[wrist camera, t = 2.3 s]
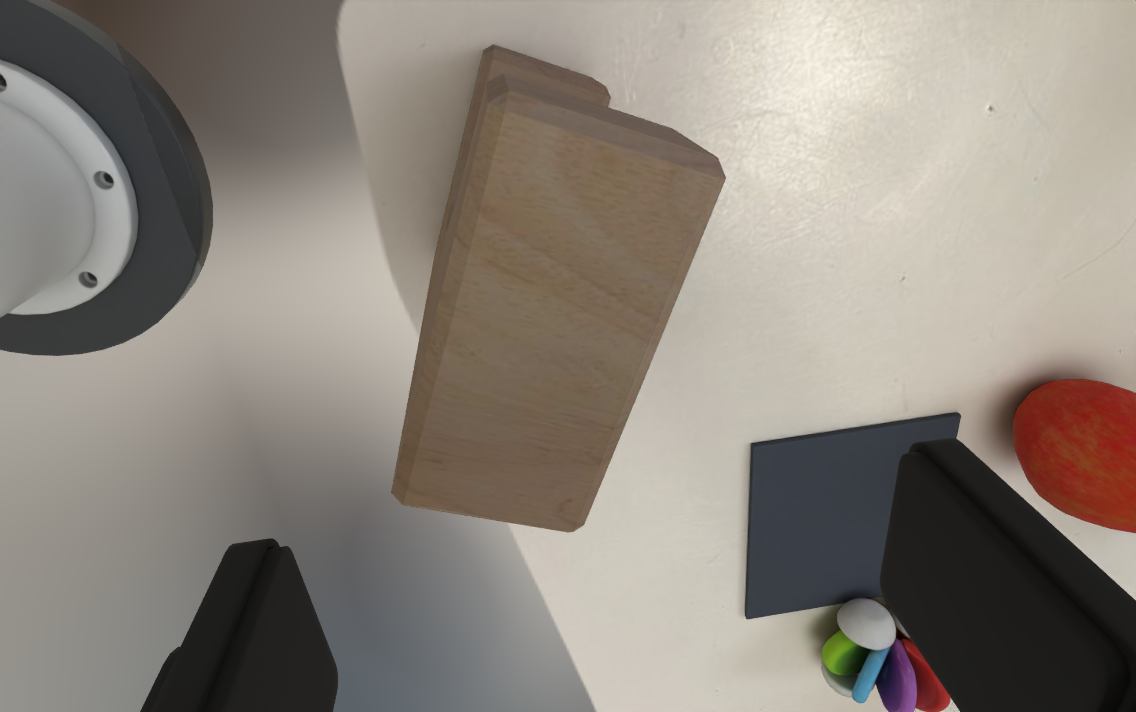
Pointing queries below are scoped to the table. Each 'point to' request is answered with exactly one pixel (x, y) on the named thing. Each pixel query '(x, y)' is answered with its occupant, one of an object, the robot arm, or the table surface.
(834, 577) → the mat
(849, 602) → the rainbow petal flower
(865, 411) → the table surface
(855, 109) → the table surface
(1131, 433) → the apple
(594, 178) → the decorative block
